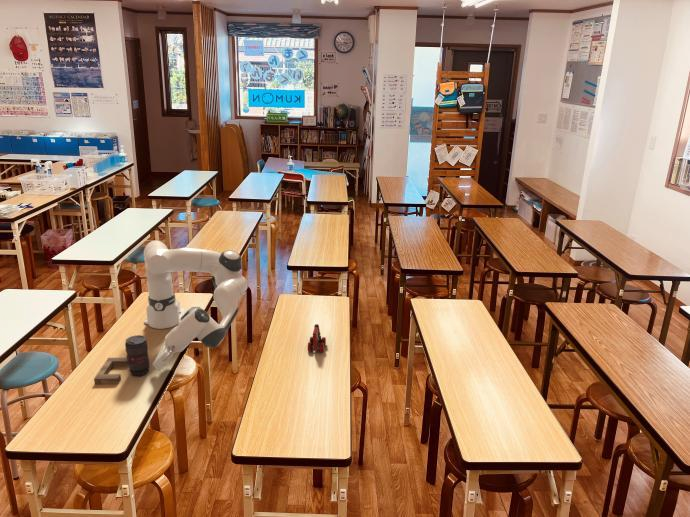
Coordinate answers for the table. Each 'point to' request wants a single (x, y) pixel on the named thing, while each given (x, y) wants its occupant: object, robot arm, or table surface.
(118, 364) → the lens cradle
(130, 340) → the camera lens
